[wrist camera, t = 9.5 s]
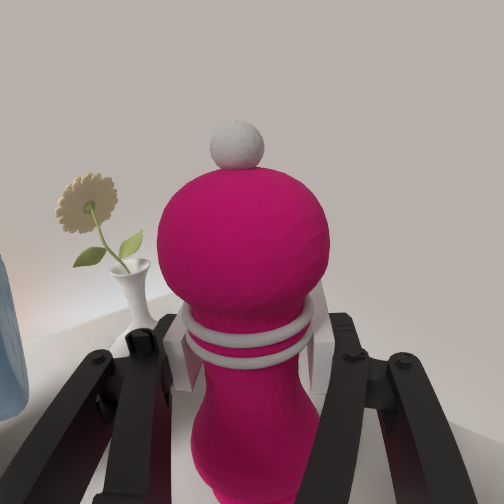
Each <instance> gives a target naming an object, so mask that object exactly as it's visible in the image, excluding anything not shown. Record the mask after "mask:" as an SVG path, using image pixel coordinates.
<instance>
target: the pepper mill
mask: <svg viewBox="0 0 504 504" xmlns="http://www.w3.org/2000/svg"><path fill="white" fill-rule="evenodd" d="M210 151H211V156H212V158H213V160H214V161H215V163H216V164H217V166H219V167H220V168H221V169H220V170H216V171H212V172H209V173H206V174H204V175H201V176H199V177H197V178H195V179H194V180H192V181H190V182H188V183H187V184H186V185H184V186H183V187H182V188H181V189H180V190H179V191H178V192H177V193H176V194H174V196H173V197H172V198H171V200H170V201H169V202H168V204H167V206H166V207H165V208H164V211H163V214H162V217H161V220H160V222H159V226H158V236H157V252H158V260H159V265H160V269H161V271H162V274H163V277H164V279H165V281H166V283H167V285H168V286H169V288H170V289H171V290H172V291H173V292H174V293H175V294H176V295H177V296H178V297H180V298H181V299H182V300H184V301H185V303H184V306H183V309H182V319H183V322H184V324H185V326H186V330H185V333H186V341H187V343H188V345H189V347H190V348H191V350H192V351H193V352H194V353H195V354H196V355H198V356H199V357H200V358H202V361H203V364H204V368H205V376H206V385H207V387H206V394H205V397H204V400H203V402H202V404H201V407H200V409H199V411H198V413H197V415H196V417H195V420H194V424H193V428H192V435H191V451H192V456H193V461H194V464H195V467H196V469H197V471H198V473H199V475H200V476H201V477H202V479H203V480H204V481H205V483H206V484H208V485H209V486H210V487H211V488H212V490H213V492H214V495H215V497H216V498H217V500H218V501H219V503H220V504H294V502H295V499H296V496H297V493H298V490H299V487H300V484H301V481H302V478H303V475H304V472H305V469H306V466H307V462H308V459H309V456H310V453H311V449H312V446H313V442H314V439H315V435H316V432H317V428H318V425H319V421H320V417H319V415H318V413H317V410H316V408H315V407H314V405H313V403H312V402H311V400H310V398H309V397H308V395H307V393H306V392H305V390H304V388H303V387H302V385H301V382H300V378H299V375H298V358H299V353H300V352H301V351H302V350H303V349H304V348H305V347H306V345H307V344H308V343H309V341H310V339H311V337H312V334H313V322H312V316H313V314H314V303H313V300H312V298H311V296H310V295H309V293H310V292H311V291H312V290H313V289H314V288H315V287H316V285H317V284H318V282H319V281H320V279H321V278H322V276H323V275H324V273H325V271H326V268H327V265H328V259H329V249H330V238H329V228H328V223H327V220H326V217H325V214H324V211H323V208H322V207H321V205H320V203H319V202H318V200H317V198H316V197H315V195H314V194H313V193H312V192H311V191H310V190H309V189H308V188H307V187H306V186H305V185H304V184H303V183H301V182H300V181H298V180H296V179H294V178H293V177H291V176H289V175H287V174H285V173H283V172H279V171H276V170H272V169H267V168H260V167H256V166H257V165H258V163H259V162H260V160H261V159H262V156H263V153H264V142H263V138H262V136H261V134H260V133H259V131H258V130H257V129H256V128H255V127H253V126H252V125H251V124H249V123H246V122H241V121H234V122H229V123H226V124H224V125H223V126H221V127H220V128H219V129H218V130H217V131H216V132H215V134H214V135H213V137H212V139H211V144H210Z"/></svg>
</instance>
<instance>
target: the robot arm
mask: <svg viewBox="0 0 504 504" xmlns="http://www.w3.org/2000/svg"><path fill="white" fill-rule="evenodd" d="M309 295H310V296H311V298H312V300H313V303H314V314H313V316H312V322H313V334H312V337H311V339H310V341H309V343H308V344H307V352H308V364H309V377H310V390H311V395H317V394H326V398H325V402H324V406H323V409H322V413H321V417H320V421H319V425H318V428H317V432H316V435H315V439H314V442H313V446H312V449H311V453H310V456H309V459H308V462H307V466H306V469H305V472H304V475H303V478H302V481H301V484H300V487H299V490H298V493H297V496H296V499H295V502H294V504H348V501H349V497H350V492H351V487H352V482H353V477H354V472H355V466H356V460H357V454H358V448H359V442H360V435H361V428H362V421H363V413H364V407H366V408H372V409H377V414H378V418H379V422H380V426H381V431H382V435H383V439H384V444H385V448H386V453H387V457H388V462H389V467H390V472H391V477H392V482H393V487H394V492H395V498H396V503H397V504H478V503H477V499H476V496H475V493H474V490H473V487H472V484H471V481H470V479H469V476H468V473H467V470H466V467H465V465H464V462H463V459H462V457H461V454H460V451H459V449H458V446H457V444H456V441H455V439H454V436H453V434H452V431H451V429H450V426H449V424H448V421H447V419H446V417H445V414H444V412H443V410H442V407H441V405H440V403H439V401H438V398H437V396H436V394H435V392H434V389H433V387H432V385H431V383H430V381H429V379H428V377H427V375H426V373H425V370H424V368H423V366H422V364H421V362H420V360H419V359H418V358H417V357H416V356H414V355H413V354H410V353H406V352H400V353H395V354H393V355H392V356H390V358H389V360H388V361H383V360H377V359H373V358H371V357H369V355H368V353H367V351H366V350H365V349H363V348H361V345H360V342H359V338H358V335H357V332H356V330H355V326H354V323H353V320H352V318H351V317H350V316H349V315H348V314H347V313H328V309H327V304H326V300H325V296H324V292H323V287H322V283H321V279H320V281H319V282H318V284H317V285H316V287H315V288H314V289H313V290H312V291H311V292H310V293H309ZM184 303H185V301H184ZM184 303H183V305H182V306H181V308H180V310H179V312H178V314H166V315H165V316H164V317H162V318H161V319H160V320H159V322H158V323H157V325H156V326H155V328H154V331H153V330H152V329H149V328H138V329H135V330H132V331H130V332H129V333H128V334H127V335H126V336H125V340H126V343H127V347H128V350H129V353H130V354H129V356H127V357H120V358H113V356H112V353H111V352H110V351H108V350H105V349H101V350H95V351H93V352H91V353H89V354H88V355H87V356H86V357H85V358H84V360H83V361H82V362H81V363H80V365H79V366H78V367H77V369H76V370H75V371H74V373H73V374H72V375H71V377H70V378H69V379H68V381H67V382H66V384H65V385H64V386H63V388H62V389H61V390H60V392H59V393H58V394H57V396H56V397H55V399H54V400H53V401H52V403H51V404H50V406H49V407H48V408H47V410H46V411H45V413H44V414H43V415H42V417H41V418H40V420H39V421H38V423H37V424H36V426H35V427H34V428H33V430H32V431H31V433H30V434H29V436H28V437H27V439H26V440H25V442H24V443H23V445H22V446H21V448H20V449H19V451H18V452H17V454H16V455H15V457H14V458H13V460H12V461H11V463H10V465H9V466H8V468H7V469H6V471H5V472H4V474H3V476H2V477H1V479H0V504H80V502H81V500H82V498H83V496H84V494H85V491H86V489H87V487H88V485H89V483H90V481H91V478H92V476H93V474H94V472H95V470H96V468H97V466H98V464H99V462H100V459H101V457H102V455H103V453H104V451H105V449H106V447H107V445H108V443H109V441H110V439H111V444H110V450H109V456H108V462H107V468H106V475H105V482H104V488H103V492H102V493H100V494H96V495H95V496H94V498H93V502H92V504H172V501H171V414H172V394H171V391H170V387H171V385H172V383H174V387H175V390H176V391H187V392H192V391H193V388H194V385H195V382H196V379H197V376H198V373H199V370H200V367H201V364H202V358H200V357H199V356H198V355H196V354H195V353H194V352H193V351H192V350H191V348H190V347H189V345H188V343H187V341H186V333H185V330H186V326H185V324H184V322H183V319H182V309H183V306H184ZM97 396H98V398H97ZM28 398H29V383H28V375H27V369H26V363H25V358H24V353H23V348H22V342H21V337H20V333H19V328H18V323H17V318H16V313H15V308H14V304H13V299H12V294H11V289H10V285H9V281H8V276H7V272H6V268H5V266H4V263H3V261H2V259H1V255H0V421H3V420H6V419H9V418H12V417H14V416H17V415H19V414H20V413H21V411H23V410H24V408H25V406H26V405H27V403H28ZM111 437H112V438H111Z"/></svg>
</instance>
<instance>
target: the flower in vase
mask: <svg viewBox="0 0 504 504" xmlns="http://www.w3.org/2000/svg"><path fill="white" fill-rule="evenodd" d="M113 187H114V182H112V178H111V177H109V178H107V177H105V178H103V179H102V180H101V174H100V173H96V174H95V175H93V174H92V173H87V174H86V175H85V177H83V178H80V177H76V178H75V179H74V182H73V185H72V184H68V185H67V186H66V188H65V190H64V191H63V192H62V196H63V197H61V198H59V200H58V203H59V205H60V207H58V208H56V210H55V216H56V217H57V218H58V222H59V223H60V224H63V226H62V228H63V230H64V231H66V232H67V231H69V232H70V233H74V232H76V231H77V230H78V229H79V233H80V234H82V233H86V232H88V231H89V232H90V231H92V230H93V229H94V228H95V226H96V227H97V229H98V232H99V235H100V238H101V240H102V243H103V245H104V247H105V248H106V249H105V248H101V247H90V248H88V249H86V250H84V251H83V252H82V253H81V254H80V255H79V256H78V258H77V259H76V261H75V263H74V266H73V267H80V266H90V265H95V264H97V263H99V262H100V261H101V259H102V258H103V256H104V255H105V253H106V250H108V252H109V253H110V254H111V255H112V256H113V257H114V258H116V260H117V261H118V262H119V263H116V264H115V265H113V266H112V267H111V268H110V269H109V273H110V274H111V275H112V276H114V277H115V278H116V279H117V281H118V282H119V283H120V285H121V287H122V289H123V291H124V293H125V296H126V298H127V301H128V305H129V308H130V313H131V323H130V325H129V327H128V328H127V329H126V330H125V331H124V332H123V333H122V334H121V335H120V336H119V337H118V338H117V339H116V341H115V342H114V344H113V345H112V347H111V349H110V352H111V353H112V356H113V358H120V357H127V356H129V354H130V353H129V350H128V347H127V343H126V340H125V336H126V335H127V334H128V333H129V332H130V331H132V330H135V329H138V328H149V329H152V330H153V331H154V328H155V326H156V325H157V323H158V321H155V320H154V319H153V318H152V317H151V316H150V313H149V311H148V307H147V303H146V298H145V278H146V274H147V271H148V269H149V267H150V264H151V263H150V261H149V260H146V259H129V260H125V261H121V260H120V259H121V258H125V257H127V256H129V255H131V254H133V253H135V252H136V251H137V250H138V249H139V247H140V245H141V242H142V229H141V230H140V231H139V232H138V233H136V234H135V235H134V236H132V237H131V238H129V239H127V240H126V241H124V242H123V243H122V244H121V246H120V250H119V257H120V259H119V258H118V257H117V256H116V255H115V254H114V253H113V252H112V251H111V250H110V249H109V247H108V246H107V245H106V243H105V241H104V238H103V235H102V232H101V230H100V227H99V226H100V225H101V224H102V222H104V221H105V220H108V219H109V218H110V216H111V214H110V212H112V211H113V210H114V208H115V206H114V205H116V204H117V202H118V199H117V198H116V196H117V193H116V192H117V191H116V189H113Z"/></svg>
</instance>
